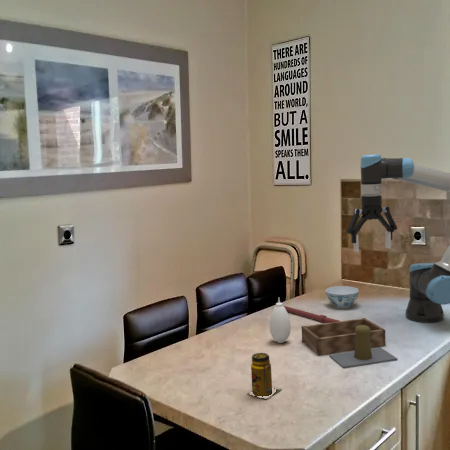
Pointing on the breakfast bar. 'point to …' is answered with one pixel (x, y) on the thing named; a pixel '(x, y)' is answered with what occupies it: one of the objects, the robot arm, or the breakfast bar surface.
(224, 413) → the breakfast bar surface
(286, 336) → the white bulb air blower
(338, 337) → the wooden box
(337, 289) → the chinaware
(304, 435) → the breakfast bar surface
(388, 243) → the robot arm
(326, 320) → the red rod with collar
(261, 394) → the condiment
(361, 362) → the charcoal mat
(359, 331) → the olive dumbbell shape
